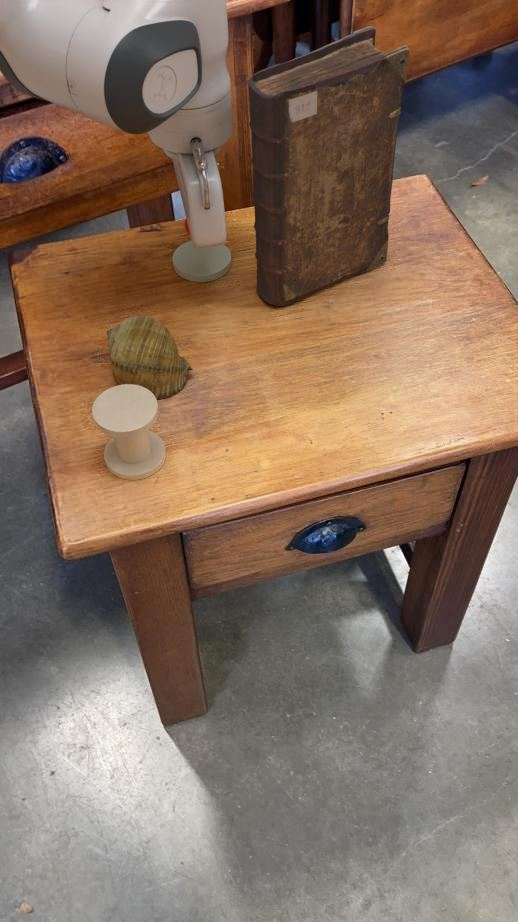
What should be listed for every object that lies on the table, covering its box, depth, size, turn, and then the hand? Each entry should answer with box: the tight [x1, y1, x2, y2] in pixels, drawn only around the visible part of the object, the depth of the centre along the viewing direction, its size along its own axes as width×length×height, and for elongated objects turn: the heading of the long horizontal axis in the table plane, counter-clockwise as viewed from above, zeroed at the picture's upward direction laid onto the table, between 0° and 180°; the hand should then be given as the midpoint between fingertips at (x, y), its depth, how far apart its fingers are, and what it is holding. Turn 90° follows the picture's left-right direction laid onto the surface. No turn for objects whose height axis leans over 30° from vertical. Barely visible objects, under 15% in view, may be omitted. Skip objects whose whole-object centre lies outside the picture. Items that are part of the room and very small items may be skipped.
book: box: [247, 25, 410, 307], centre depth 88 cm, size 17×7×25 cm, turn 121°
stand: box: [91, 384, 167, 481], centre depth 79 cm, size 6×6×7 cm
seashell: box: [106, 315, 193, 400], centre depth 87 cm, size 10×7×8 cm
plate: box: [171, 240, 233, 283], centre depth 99 cm, size 7×7×1 cm
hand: (200, 231), depth 96 cm, fingers closed on strawberry, 3 cm apart
